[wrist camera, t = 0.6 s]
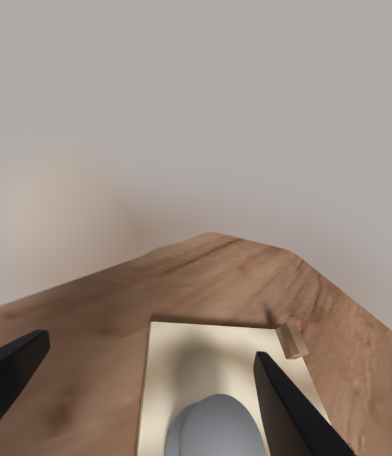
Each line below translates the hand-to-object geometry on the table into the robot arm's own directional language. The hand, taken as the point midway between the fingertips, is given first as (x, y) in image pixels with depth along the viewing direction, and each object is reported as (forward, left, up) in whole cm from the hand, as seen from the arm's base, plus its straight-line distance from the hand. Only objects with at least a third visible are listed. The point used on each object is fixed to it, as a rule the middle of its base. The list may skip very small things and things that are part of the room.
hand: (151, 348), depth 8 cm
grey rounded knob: (-4, -7, -13) cm, 15 cm away
